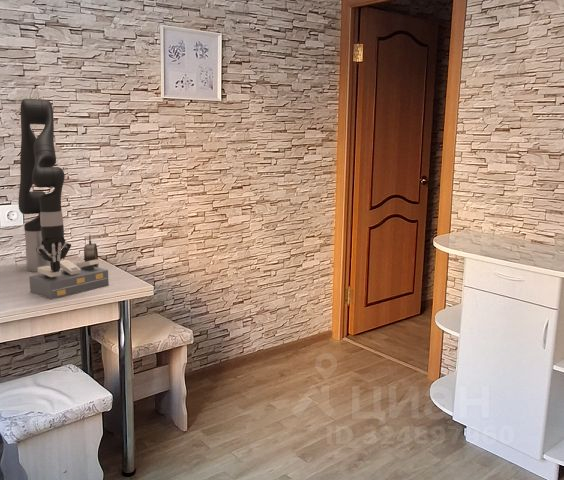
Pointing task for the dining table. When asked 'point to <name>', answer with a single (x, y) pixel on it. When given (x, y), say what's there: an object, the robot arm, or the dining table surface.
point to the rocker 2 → (69, 267)
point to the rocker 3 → (88, 263)
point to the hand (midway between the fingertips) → (55, 271)
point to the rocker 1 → (48, 271)
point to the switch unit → (69, 282)
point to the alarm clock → (90, 252)
